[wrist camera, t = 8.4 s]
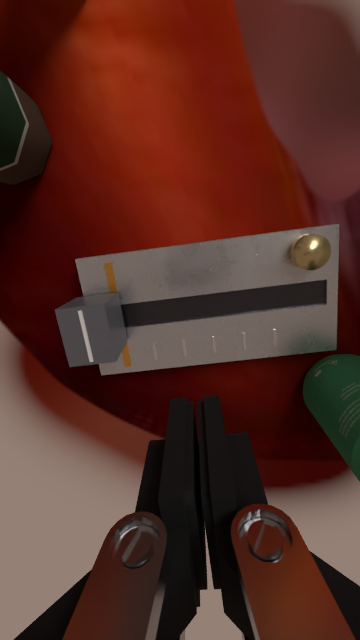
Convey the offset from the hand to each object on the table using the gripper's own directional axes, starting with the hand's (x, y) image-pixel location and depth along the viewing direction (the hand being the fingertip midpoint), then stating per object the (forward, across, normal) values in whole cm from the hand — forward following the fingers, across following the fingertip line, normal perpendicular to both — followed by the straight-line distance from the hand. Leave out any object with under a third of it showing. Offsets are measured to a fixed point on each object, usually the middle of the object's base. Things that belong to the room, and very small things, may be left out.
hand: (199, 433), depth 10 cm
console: (+20, -2, 0) cm, 21 cm away
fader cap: (+18, +9, 0) cm, 20 cm away
